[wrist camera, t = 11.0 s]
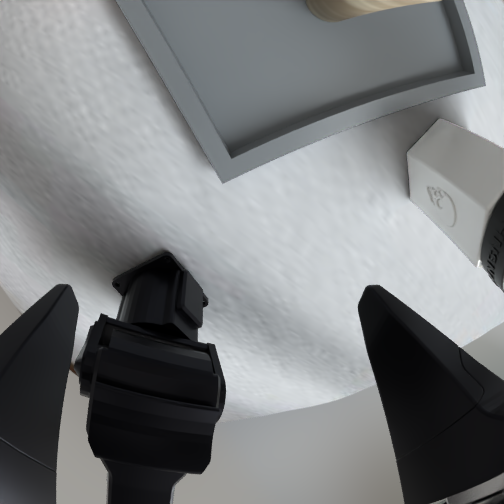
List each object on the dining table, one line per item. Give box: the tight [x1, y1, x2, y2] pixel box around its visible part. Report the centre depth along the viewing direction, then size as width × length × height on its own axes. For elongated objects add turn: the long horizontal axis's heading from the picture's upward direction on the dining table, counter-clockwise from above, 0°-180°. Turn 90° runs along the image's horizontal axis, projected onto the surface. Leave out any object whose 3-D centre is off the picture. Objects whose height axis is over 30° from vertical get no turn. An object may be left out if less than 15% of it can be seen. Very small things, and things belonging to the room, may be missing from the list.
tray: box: [116, 0, 486, 184], centre depth 12 cm, size 22×16×2 cm
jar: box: [407, 118, 504, 292], centre depth 15 cm, size 9×8×12 cm
